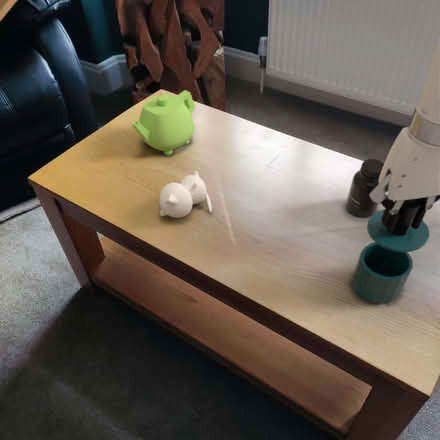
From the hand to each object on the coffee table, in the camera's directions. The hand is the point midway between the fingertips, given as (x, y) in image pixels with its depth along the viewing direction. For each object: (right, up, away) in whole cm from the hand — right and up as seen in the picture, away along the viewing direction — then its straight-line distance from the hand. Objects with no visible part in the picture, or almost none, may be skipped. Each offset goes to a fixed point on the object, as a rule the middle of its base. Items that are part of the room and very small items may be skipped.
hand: (399, 224), depth 72 cm
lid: (0, -1, +1) cm, 1 cm away
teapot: (-44, +29, +45) cm, 69 cm away
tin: (+1, -10, +13) cm, 16 cm away
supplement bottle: (+2, +7, +26) cm, 27 cm away
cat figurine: (-37, +8, +28) cm, 47 cm away
